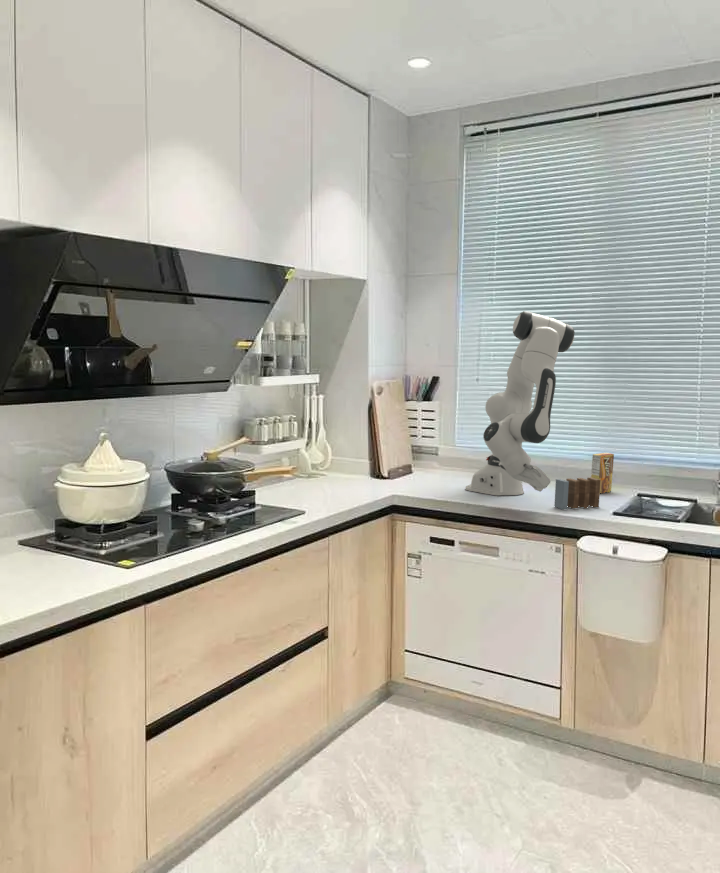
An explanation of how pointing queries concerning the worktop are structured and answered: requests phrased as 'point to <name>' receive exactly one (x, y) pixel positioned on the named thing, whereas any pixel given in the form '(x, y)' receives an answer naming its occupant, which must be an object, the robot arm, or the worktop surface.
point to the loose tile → (561, 493)
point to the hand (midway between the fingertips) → (539, 489)
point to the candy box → (603, 470)
